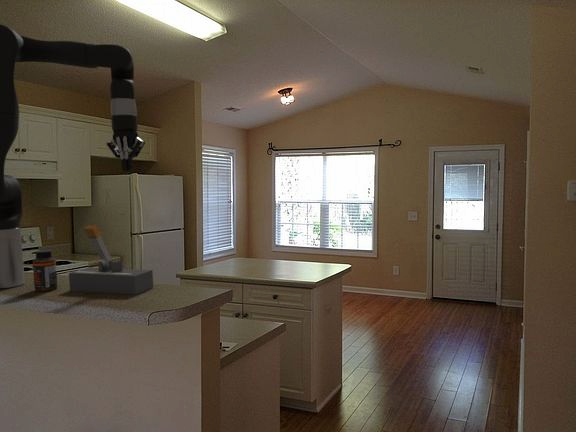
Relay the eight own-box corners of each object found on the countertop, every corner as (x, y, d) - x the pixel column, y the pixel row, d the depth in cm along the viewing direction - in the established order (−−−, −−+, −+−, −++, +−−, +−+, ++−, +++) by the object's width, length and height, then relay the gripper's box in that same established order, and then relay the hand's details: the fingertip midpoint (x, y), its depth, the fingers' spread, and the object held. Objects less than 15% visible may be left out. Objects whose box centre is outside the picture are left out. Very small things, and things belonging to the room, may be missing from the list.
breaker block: (70, 290, 137) (67, 262, 136) (90, 284, 144) (88, 257, 144) (135, 294, 130) (134, 264, 129) (153, 287, 137) (151, 259, 136)
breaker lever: (105, 271, 137) (84, 228, 129) (109, 267, 138) (88, 224, 130) (113, 272, 136) (92, 228, 128) (117, 267, 137) (96, 224, 129)
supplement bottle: (30, 291, 138) (26, 251, 137) (48, 286, 143) (45, 248, 142) (43, 293, 135) (40, 252, 134) (62, 288, 140) (59, 249, 139)
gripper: (97, 115, 147) (101, 172, 149) (134, 112, 143) (138, 171, 144) (114, 117, 154) (117, 172, 156) (149, 114, 150) (152, 171, 151)
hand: (127, 171), depth 150 cm, fingers closed
